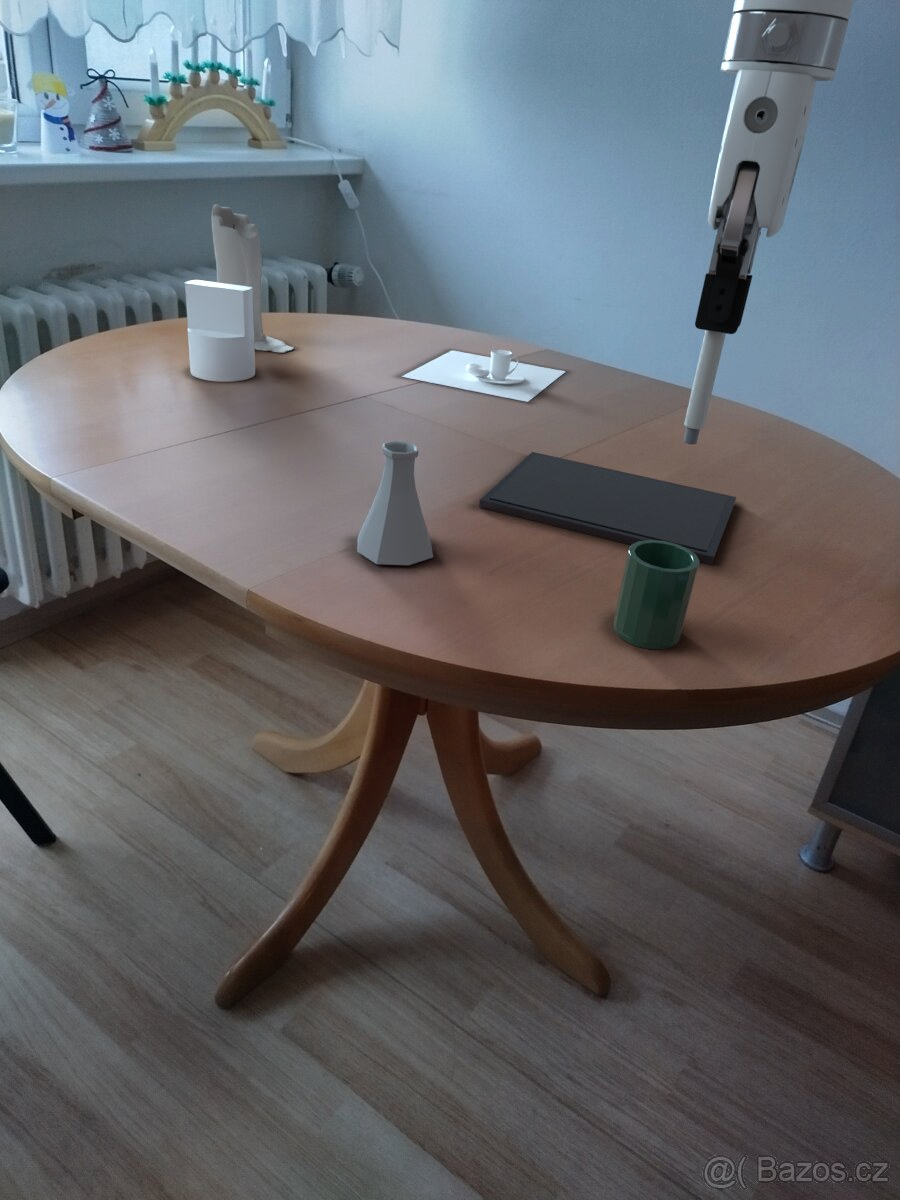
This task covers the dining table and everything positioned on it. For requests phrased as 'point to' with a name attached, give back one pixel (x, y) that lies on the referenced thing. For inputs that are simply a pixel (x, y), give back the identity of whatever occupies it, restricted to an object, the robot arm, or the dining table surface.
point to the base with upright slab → (220, 331)
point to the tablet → (612, 504)
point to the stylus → (703, 384)
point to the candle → (242, 265)
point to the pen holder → (655, 593)
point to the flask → (396, 513)
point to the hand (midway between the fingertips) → (717, 326)
